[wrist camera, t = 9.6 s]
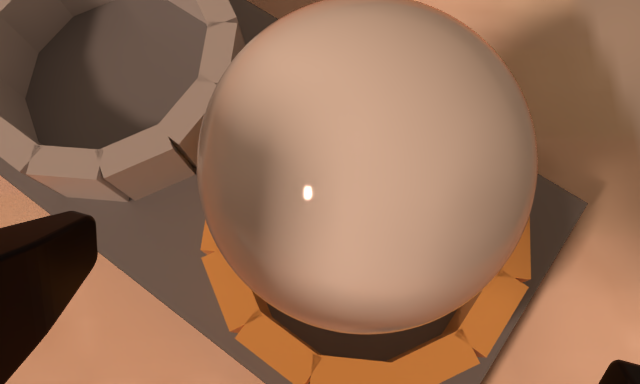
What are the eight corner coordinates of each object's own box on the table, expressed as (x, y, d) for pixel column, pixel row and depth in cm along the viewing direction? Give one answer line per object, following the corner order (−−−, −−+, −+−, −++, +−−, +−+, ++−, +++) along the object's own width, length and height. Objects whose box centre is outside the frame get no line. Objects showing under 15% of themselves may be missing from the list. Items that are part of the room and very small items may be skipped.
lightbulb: (468, 184, 18) (633, -49, 8) (427, 369, 16) (567, 392, 6) (294, 140, 19) (230, -126, 9) (237, 312, 17) (68, 243, 7)
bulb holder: (570, 214, 19) (625, 180, 15) (406, 486, 17) (423, 524, 13) (129, -52, 24) (87, -129, 20) (-47, 131, 22) (-132, 84, 18)
